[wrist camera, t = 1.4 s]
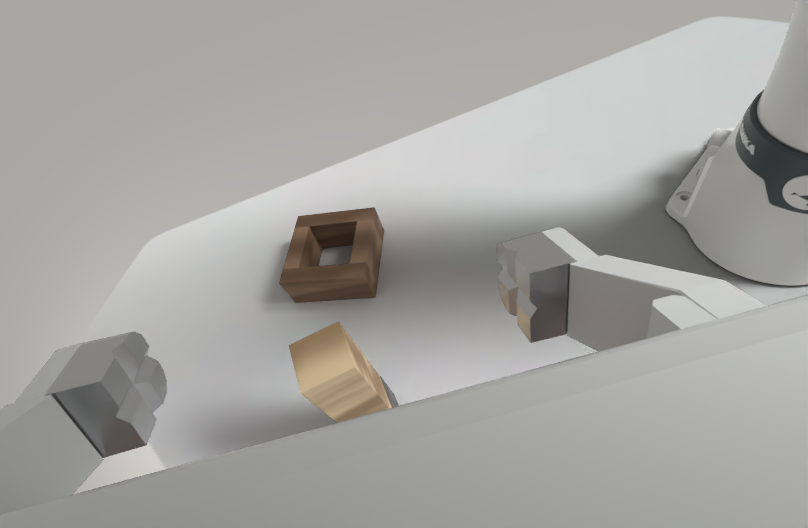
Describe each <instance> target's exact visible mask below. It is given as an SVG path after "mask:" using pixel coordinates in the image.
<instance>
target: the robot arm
mask: <svg viewBox="0 0 808 528" xmlns="http://www.w3.org/2000/svg"><path fill="white" fill-rule="evenodd" d="M681 199H683V200H681ZM684 200H685V201H684ZM665 209H666V211H667V213H668V214H669V215H670V216H671V217H673V218H674V219H675V220H676V221H678V222H679V223H680V224H682V225H683V226H684V227H685V228H686V230H687V231H688V233H689V235H690V237H691V238H692V240H693V242H694V243H695V244H696V246H697V247H698V248H699V249H700V250H701V251H702V252H703V253H704V254H705V255H706V256H707V257H708V258H709V259H711V260H712V261H713V262H715V263H716V264H718V265H719V266H721V267H723V268H725V269H726V270H728V271H730V272H733V273H735V274H737V275H740V276H742V277H745V278H748V279H752V280H755V281H759V282H764V283H769V284H776V285H808V0H794V8H793V15H792V18H791V22H790V25H789V28H788V31H787V34H786V37H785V40H784V43H783V45H782V48H781V51H780V53H779V56H778V59H777V61H776V64H775V66H774V68H773V71H772V73H771V76H770V78H769V80H768V82H767V85H766V87H765V89H764V90H763V91H762V92H761V93H759V94H758V95H757V97H756V98H755V99H754V101H753V102H752V104H751V105H750V106H749V108H748V109H747V111H746V113H745V115H744V117H743V119H742V120H741V121H740V123H739V124H738V125H737V126H736V127H734V128H729V129H722V128H716V129H715V131H714V132H713V134H712V136H711V138H710V140H709V142H708V145H707V149H706V151H705V152H704V153H703V155H702V156H701V157H700V159H699V160H698V162H697V163H696V164H695V166H694V167H693V168H692V170H691V171H690V172H689V174H688V175H687V176H686V178H685V179H684V180H683V182H682V183H681V184H680V186H679V187H678V188H677V190H676V191H675V192H674V194H673V195H672V196H671V198H670V199H669V201H668V203H667V205H666V207H665ZM496 257H497V261H498V263H499V264H500V265H501V266H502V270H501V272H500V273H499V275H498V285H499V291H500V295H501V298H502V301H503V303H504V305H505V307H506V309H507V310H508V312H509V313H510V314H513V315H515V316H517V319H518V326H519V327H520V329H521V330H522V331H523V333H524V334H525V335H526V337H527V338H528V340H529V341H530V342H531V343H532V342H536V341H540V340H545V339H549V338H553V337H557V336H561V335H566V334H567V336H569V337H571V338H573V339H575V340H577V341H579V342H581V343H583V344H585V345H587V346H589V347H591V348H593V349H595V350H597V351H599V352H595V353H591V354H588V355H584V356H580V357H577V358H573V359H569V360H566V361H562V362H558V363H555V364H551V365H547V366H544V367H540V368H536V369H533V370H529V371H525V372H522V373H518V374H514V375H511V376H507V377H503V378H500V379H496V380H492V381H489V382H485V383H481V384H478V385H474V386H470V387H467V388H463V389H459V390H456V391H452V392H448V393H445V394H441V395H437V396H434V397H430V398H426V399H423V400H419V401H415V402H412V403H408V404H404V405H401V406H397V407H393V408H390V409H386V410H382V411H379V412H375V413H371V414H368V415H364V416H360V417H357V418H353V419H349V420H346V421H342V422H338V423H335V424H331V425H327V426H323V427H320V428H316V429H312V430H309V431H305V432H301V433H298V434H294V435H290V436H287V437H283V438H279V439H276V440H272V441H268V442H265V443H261V444H257V445H254V446H250V447H246V448H243V449H239V450H235V451H232V452H228V453H224V454H221V455H217V456H213V457H210V458H206V459H202V460H199V461H195V462H191V463H188V464H184V465H180V466H177V467H173V468H169V469H165V470H162V471H158V472H155V473H151V474H148V475H144V476H140V477H136V478H132V479H129V480H125V481H122V482H118V483H114V484H111V485H107V486H103V487H99V488H96V489H92V490H88V491H85V492H81V493H77V494H74V492H75V491H76V490H77V489H78V488H79V487H80V486H81V485H82V483H83V482H84V481H85V480H86V479H87V478H88V477H89V476H90V475H91V473H92V472H93V471H94V470H95V469H96V468H97V467H98V466H99V464H100V463H101V462H102V461H103V460H104V459H103V458H104V457H108V456H111V455H114V454H118V453H121V452H125V451H128V450H131V449H135V448H138V447H142V446H145V445H147V442H148V440H149V437H150V435H151V432H152V430H153V427H154V425H155V422H156V420H157V419H156V418H155V416H154V415H153V412H154V411H155V410H156V409H157V408H158V407H159V406H160V405H161V404H162V403H163V401H164V398H165V396H166V393H167V380H166V377H165V373H164V370H163V368H162V367H161V365H160V363H159V362H158V361H157V360H155V359H153V358H150V357H148V356H147V352H148V349H149V345H148V344H147V342H146V341H145V339H144V338H143V336H142V335H141V334H139V333H136V332H130V333H126V334H121V335H117V336H112V337H108V338H103V339H99V340H95V341H90V342H87V343H80V344H76V345H73V346H69V347H65V348H62V349H59V350H57V351H55V353H54V354H53V355H52V356H51V358H50V359H49V360H48V361H47V363H46V364H45V365H44V366H43V368H42V369H41V370H40V372H39V373H38V374H37V375H36V376H35V378H34V379H33V381H32V382H31V383H30V384H29V385H28V387H27V388H26V389H25V390H24V392H23V393H22V394H21V395H20V397H19V398H18V399H17V400H16V402H15V403H14V404H10V405H7V406H4V407H3V408H1V409H0V528H808V295H805V296H801V297H798V298H794V299H790V300H787V301H783V302H779V303H776V304H772V305H768V306H766V305H765V304H763V303H761V302H760V301H758V300H756V299H755V298H753V297H751V296H750V295H748V294H746V293H745V292H743V291H742V290H740V289H738V288H737V287H735V286H733V285H732V284H730V283H728V282H727V281H725V280H721V279H717V278H712V277H707V276H703V275H698V274H693V273H689V272H684V271H679V270H675V269H670V268H665V267H661V266H656V265H651V264H647V263H642V262H637V261H633V260H628V259H623V258H619V257H614V256H609V255H603V256H598V255H597V254H596V253H594V252H593V251H592V250H590V249H589V248H588V247H587V246H585V245H584V244H583V243H581V242H580V241H579V240H578V239H576V238H575V237H574V236H572V235H571V234H570V233H568V232H567V231H566V230H565V229H563V228H560V227H557V228H553V229H550V230H546V231H543V232H539V233H535V234H531V235H528V236H524V237H520V238H516V239H513V240H509V241H505V242H502V243H499V244H497V249H496ZM73 494H74V495H73Z"/></svg>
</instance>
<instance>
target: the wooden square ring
mask: <svg viewBox="0 0 808 528" xmlns="http://www.w3.org/2000/svg"><path fill="white" fill-rule="evenodd" d="M383 234H384V229H383V227H382V224H381V222H380V220H379V217H378V215H377V213H376V210H375V208H366V209H357V210H348V211H339V212H331V213H322V214H313V215H305V216H298V219H297V222H296V226H295V229H294V233H293V236H292V240H291V243H290V247H289V250H288V254H287V257H286V261H285V264H284V268H283V272H282V275H281V279H280V282H279V284H280V285H281V286H282V287H283V288H284V289H285V291H286V292H287V293H288V294H289V295H290V297H291V298H292V299H293V300H294V301H295V302H296V303H297V302H313V301H328V300H344V299H359V298H375V297H376V289H377V281H378V273H379V266H380V258H381V250H382V242H383ZM346 245H353V248H352V253H351V259H350V264H339V265H327V266H319V261H320V257H321V253H322V248H325V247H335V246H346Z"/></svg>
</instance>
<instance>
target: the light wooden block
mask: <svg viewBox="0 0 808 528" xmlns="http://www.w3.org/2000/svg"><path fill="white" fill-rule="evenodd" d="M289 348H290V352H291V356H292V360H293V364H294V368H295V372H296V376H297V379H298V383H299V387H300V391H301V394H302V395H303V396H304V397H306V398H307V399H308V400H309V401H311V402H312V403H313V404H314V405H316V406H317V407H318V408H319V409H321V410H322V411H323V412H324V413H325V414H327V415H328V416H329V417H330V418H332V419H333V420H334V421H335V422H337V423H338V422H342V421H346V420H349V419H353V418H357V417H360V416H364V415H368V414H371V413H375V412H379V411H382V410H386V409H390V408H393V407H397V406H399V405H398V403H397V400H396V398H395V396H394V394H393V392H392V391H391V390H390V388H389V387H388V386H387V384H386V383H385V382H384V380H383V379H382V378H381V376H379V375H378V373H377V372H376V371H375V369H374V368H373V367H372V365H371V364H370V363H369V361H368V360H367V359H366V357H365V356H364V355H363V353H362V352H361V351H360V349H359V348H358V347H357V345H356V344H355V342H354V341H353V340H352V338H351V337H350V336H349V334H348V333H347V332H346V330H345V329H344V328H343V326H342V325H341V324H340V322H339V321H338V322H336V323H334V324H332V325H330V326H328V327H326V328H324V329H322V330H320V331H318V332H316V333H314V334H312V335H310V336H307V337H305V338H303V339H301V340H299V341H297V342H295V343H293V344H291V345H289Z"/></svg>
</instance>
